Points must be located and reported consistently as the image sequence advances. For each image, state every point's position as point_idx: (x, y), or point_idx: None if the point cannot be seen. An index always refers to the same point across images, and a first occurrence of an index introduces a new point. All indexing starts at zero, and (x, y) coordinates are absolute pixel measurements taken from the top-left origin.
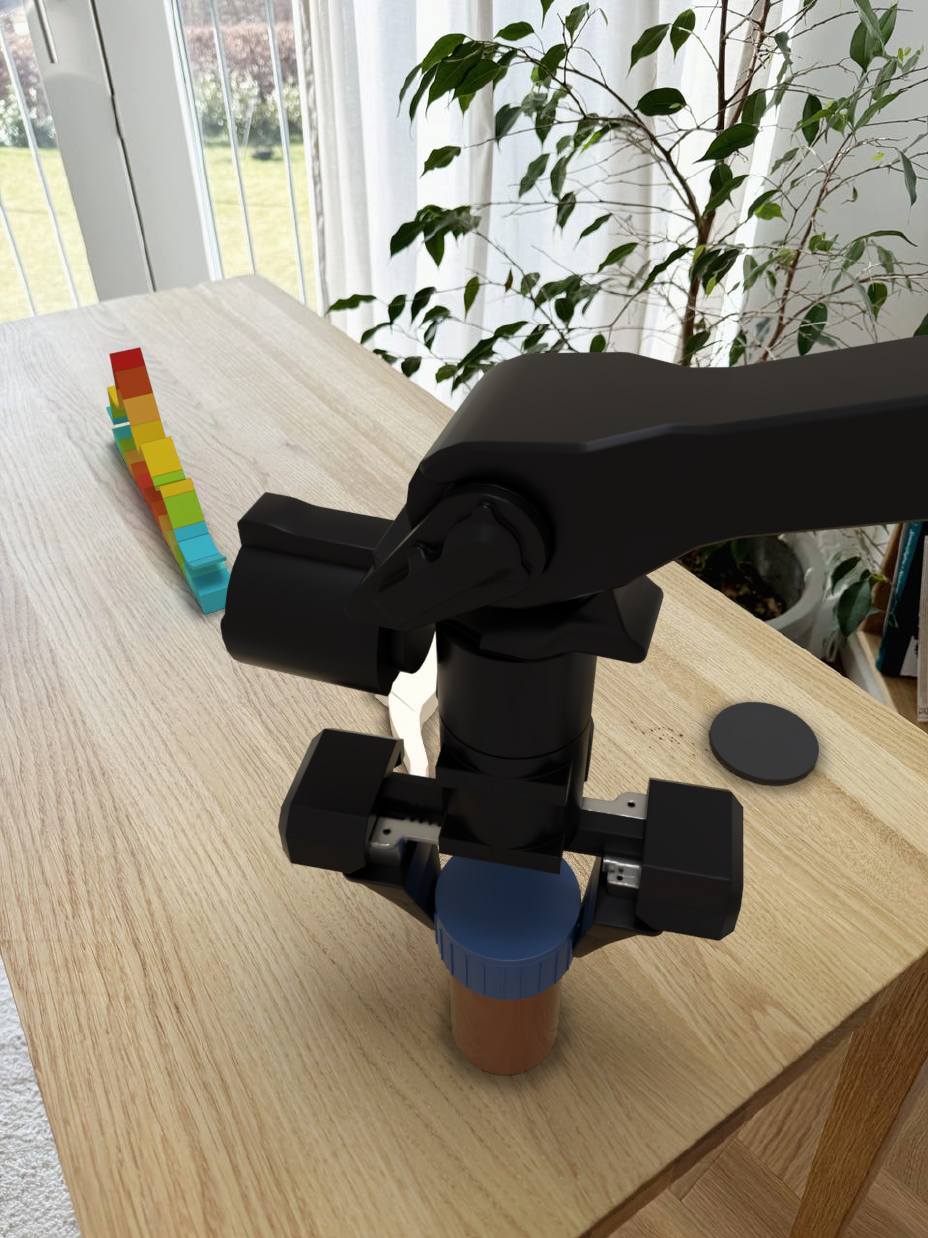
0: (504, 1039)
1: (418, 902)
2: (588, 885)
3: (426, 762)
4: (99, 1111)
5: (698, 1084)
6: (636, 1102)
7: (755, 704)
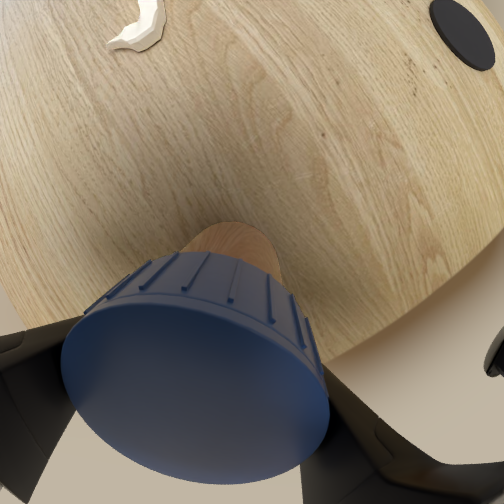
0: None
1: (52, 449)
2: (344, 451)
3: (155, 6)
4: (21, 305)
5: (375, 312)
6: (329, 326)
7: (458, 4)
